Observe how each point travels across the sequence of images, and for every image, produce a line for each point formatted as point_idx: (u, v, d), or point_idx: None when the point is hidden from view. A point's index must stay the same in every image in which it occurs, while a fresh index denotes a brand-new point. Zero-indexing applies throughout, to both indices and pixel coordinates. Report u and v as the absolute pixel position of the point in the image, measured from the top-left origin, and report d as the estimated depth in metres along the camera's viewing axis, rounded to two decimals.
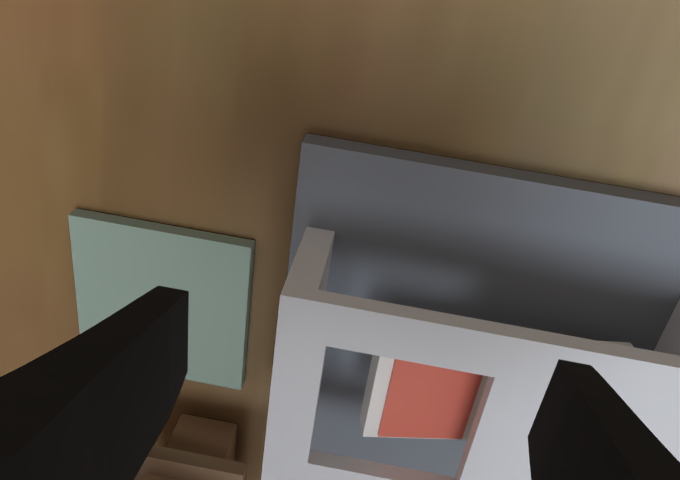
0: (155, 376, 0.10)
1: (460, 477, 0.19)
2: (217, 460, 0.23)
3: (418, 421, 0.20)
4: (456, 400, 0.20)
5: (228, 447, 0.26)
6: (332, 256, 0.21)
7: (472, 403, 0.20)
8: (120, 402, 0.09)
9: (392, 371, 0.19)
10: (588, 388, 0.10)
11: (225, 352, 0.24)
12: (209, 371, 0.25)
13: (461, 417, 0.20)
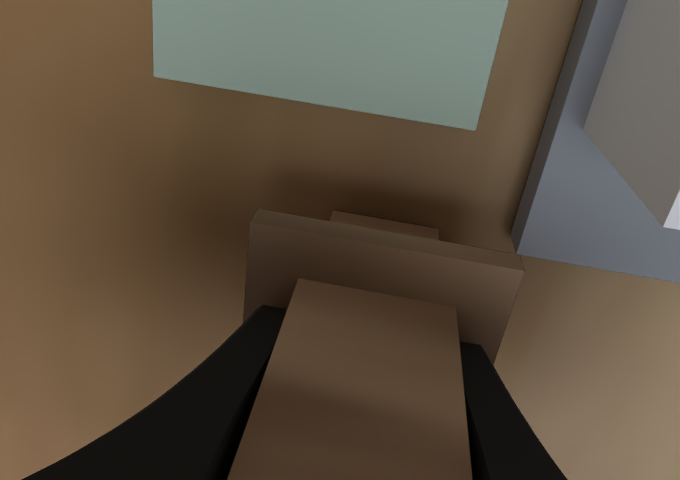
0: None
1: None
2: (457, 247, 0.11)
3: None
4: None
5: None
6: None
7: None
8: None
9: None
10: (466, 365, 0.10)
11: (460, 31, 0.12)
12: (418, 86, 0.12)
13: None
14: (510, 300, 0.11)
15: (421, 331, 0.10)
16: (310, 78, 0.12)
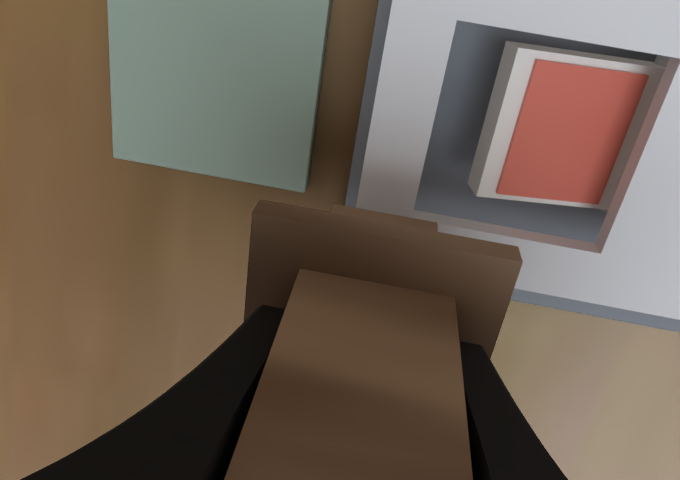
0: None
1: (609, 230, 0.15)
2: (456, 238, 0.11)
3: (549, 172, 0.16)
4: (600, 140, 0.15)
5: None
6: None
7: (618, 149, 0.16)
8: None
9: (526, 90, 0.15)
10: (467, 365, 0.10)
11: (289, 138, 0.20)
12: (268, 167, 0.20)
13: (603, 169, 0.16)
14: (508, 291, 0.11)
15: (421, 320, 0.10)
16: (205, 161, 0.21)
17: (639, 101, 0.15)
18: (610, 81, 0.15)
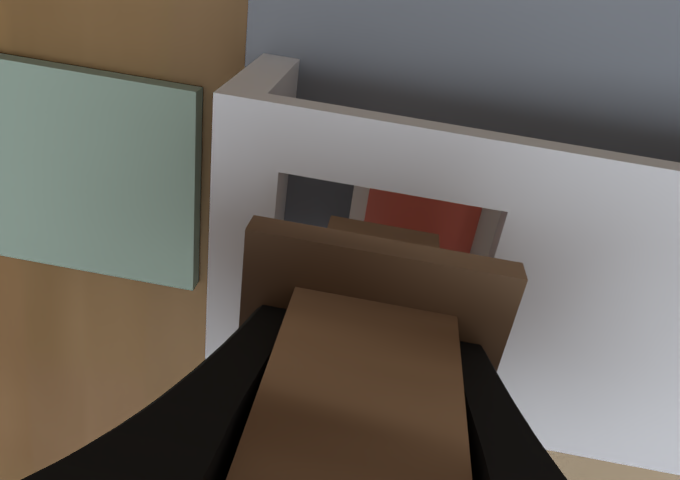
0: None
1: None
2: (458, 255, 0.11)
3: None
4: None
5: None
6: (297, 96, 0.16)
7: None
8: None
9: (370, 194, 0.16)
10: (466, 365, 0.10)
11: (171, 239, 0.20)
12: (154, 266, 0.20)
13: None
14: (513, 310, 0.10)
15: (421, 342, 0.10)
16: (92, 259, 0.20)
17: (480, 222, 0.15)
18: None
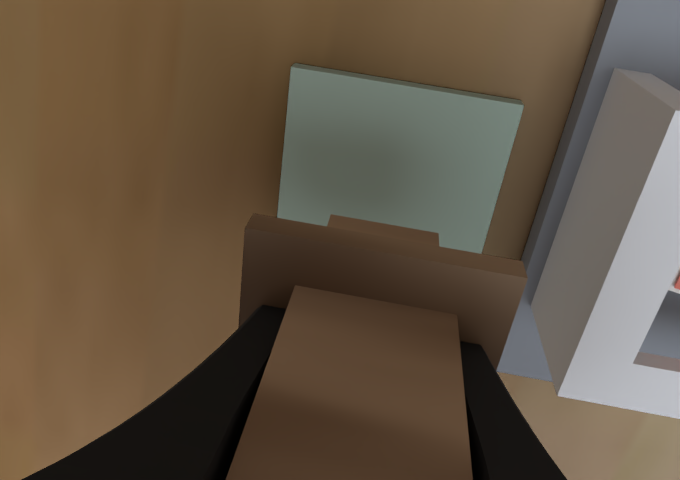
0: None
1: None
2: (458, 253, 0.11)
3: None
4: None
5: None
6: None
7: None
8: None
9: None
10: (466, 366, 0.10)
11: None
12: None
13: None
14: (513, 308, 0.10)
15: (421, 340, 0.10)
16: None
17: None
18: None
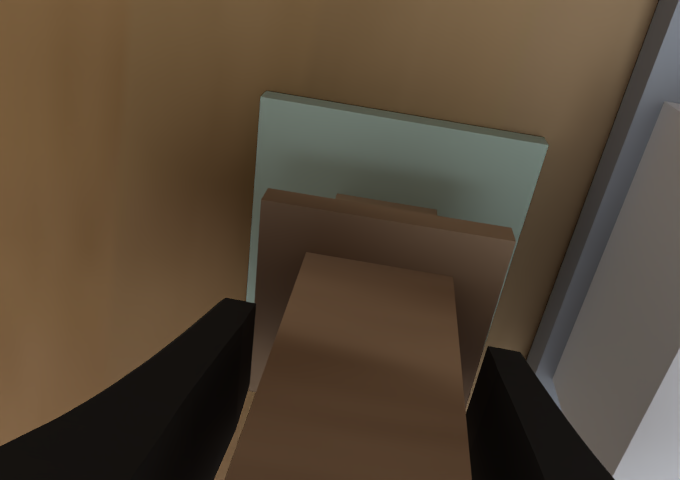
0: (229, 390, 0.10)
1: None
2: (453, 221, 0.12)
3: None
4: None
5: None
6: None
7: None
8: (203, 418, 0.09)
9: None
10: (510, 373, 0.10)
11: None
12: None
13: None
14: (503, 269, 0.12)
15: (420, 297, 0.11)
16: None
17: None
18: None
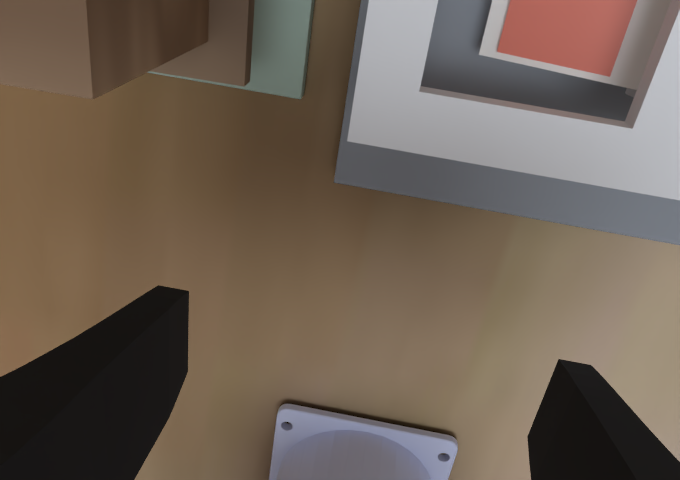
0: (155, 376, 0.10)
1: (643, 100, 0.13)
2: None
3: (552, 32, 0.15)
4: None
5: None
6: None
7: (633, 10, 0.15)
8: (120, 402, 0.09)
9: None
10: (588, 388, 0.10)
11: (283, 34, 0.18)
12: (261, 70, 0.19)
13: (613, 33, 0.15)
14: None
15: None
16: None
17: None
18: None
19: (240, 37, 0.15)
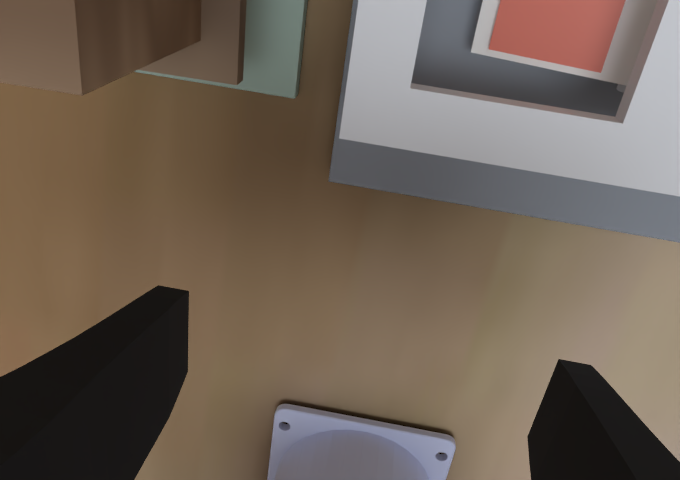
0: (155, 376, 0.10)
1: (633, 94, 0.13)
2: None
3: (542, 28, 0.15)
4: None
5: None
6: None
7: (623, 6, 0.15)
8: (120, 402, 0.09)
9: None
10: (588, 388, 0.10)
11: (276, 34, 0.18)
12: (255, 69, 0.19)
13: (603, 29, 0.15)
14: None
15: None
16: None
17: None
18: None
19: (232, 36, 0.15)
